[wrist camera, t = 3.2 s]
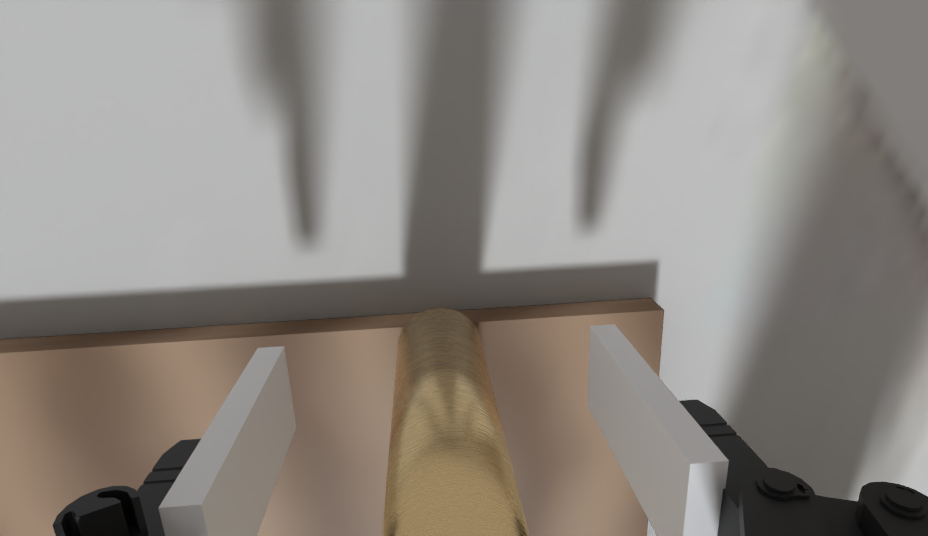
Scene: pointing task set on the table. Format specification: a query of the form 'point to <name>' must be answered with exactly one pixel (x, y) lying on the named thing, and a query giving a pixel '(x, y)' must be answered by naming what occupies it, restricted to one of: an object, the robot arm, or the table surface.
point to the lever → (447, 437)
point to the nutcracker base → (312, 414)
